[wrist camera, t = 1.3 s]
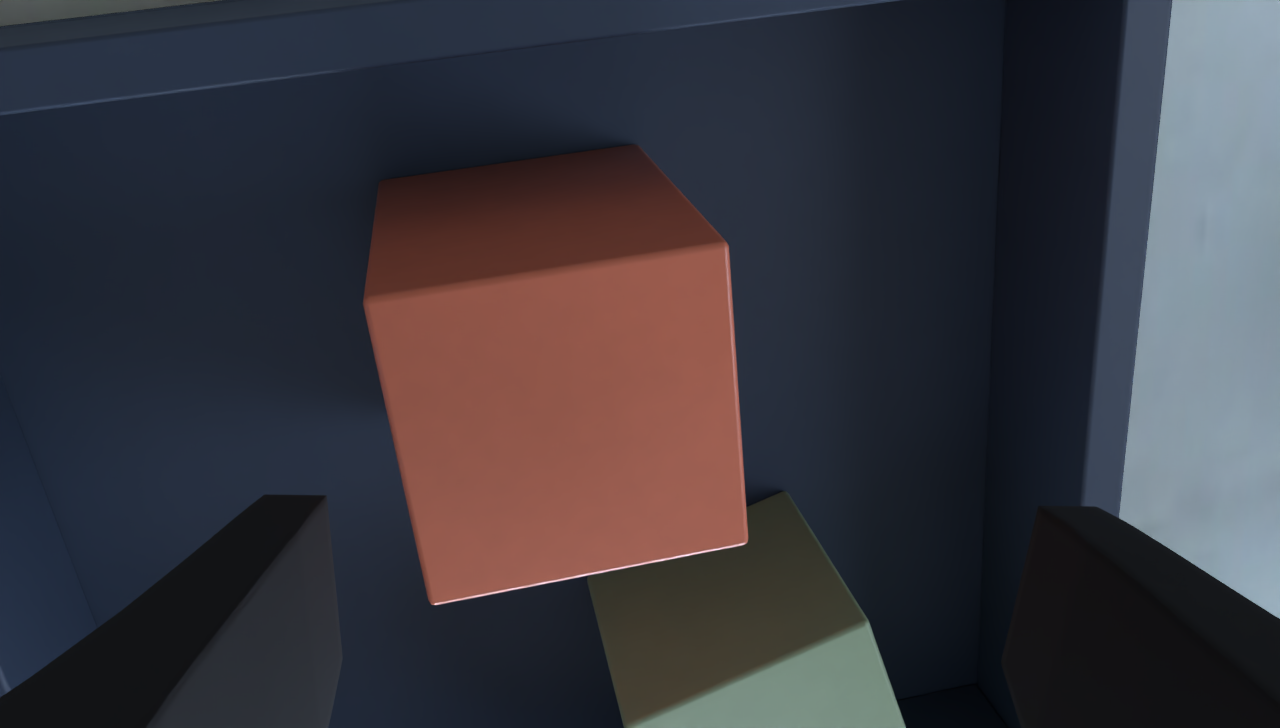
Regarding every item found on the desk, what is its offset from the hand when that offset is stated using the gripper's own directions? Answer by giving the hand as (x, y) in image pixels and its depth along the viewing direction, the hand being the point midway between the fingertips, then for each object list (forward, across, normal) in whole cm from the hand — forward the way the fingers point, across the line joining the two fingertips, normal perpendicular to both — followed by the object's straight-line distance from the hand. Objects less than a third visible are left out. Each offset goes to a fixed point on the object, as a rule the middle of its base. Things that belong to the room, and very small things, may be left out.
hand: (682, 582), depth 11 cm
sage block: (+9, -2, +8) cm, 12 cm away
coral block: (+9, +2, 0) cm, 9 cm away
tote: (+10, +2, +4) cm, 11 cm away
